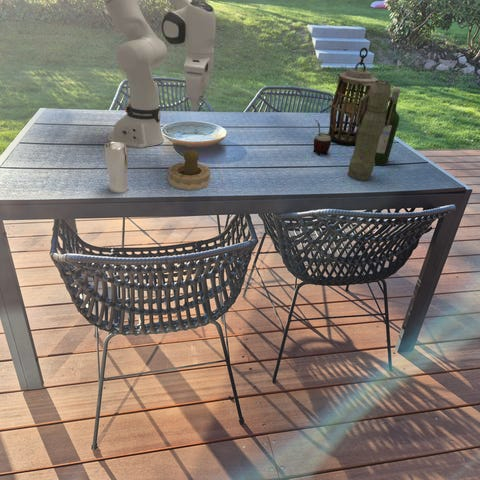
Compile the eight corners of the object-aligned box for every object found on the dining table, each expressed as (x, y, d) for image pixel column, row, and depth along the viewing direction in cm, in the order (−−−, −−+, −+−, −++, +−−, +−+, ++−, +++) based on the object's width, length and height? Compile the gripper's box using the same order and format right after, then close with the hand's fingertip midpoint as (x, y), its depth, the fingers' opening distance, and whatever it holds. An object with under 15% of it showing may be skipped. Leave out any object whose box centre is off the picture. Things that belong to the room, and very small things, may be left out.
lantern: (319, 142, 195) (337, 47, 174) (328, 130, 211) (345, 41, 189) (362, 150, 190) (386, 53, 168) (368, 138, 205) (390, 47, 184)
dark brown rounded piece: (196, 185, 148) (196, 155, 142) (179, 183, 149) (179, 152, 143) (201, 179, 153) (202, 149, 147) (185, 176, 154) (185, 146, 148)
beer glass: (109, 183, 144) (105, 140, 136) (131, 184, 145) (128, 141, 137) (106, 193, 138) (101, 149, 130) (128, 194, 139) (125, 150, 131)
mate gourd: (330, 152, 185) (337, 118, 177) (325, 158, 179) (332, 122, 171) (313, 148, 187) (319, 114, 179) (308, 154, 181) (314, 119, 173)
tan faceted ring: (164, 187, 145) (164, 176, 143) (174, 170, 157) (173, 160, 155) (205, 191, 144) (206, 181, 142) (212, 175, 156) (212, 164, 154)
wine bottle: (387, 160, 182) (407, 88, 166) (386, 167, 175) (407, 92, 159) (368, 157, 184) (386, 84, 167) (366, 163, 177) (385, 89, 161)
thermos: (340, 171, 168) (360, 78, 149) (368, 171, 170) (391, 79, 151) (348, 181, 161) (371, 84, 142) (377, 181, 163) (403, 86, 144)
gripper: (196, 54, 143) (194, 96, 151) (182, 66, 126) (181, 113, 134) (214, 56, 143) (212, 98, 151) (203, 69, 126) (201, 115, 134)
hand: (197, 105), depth 142 cm, fingers open, 8 cm apart
